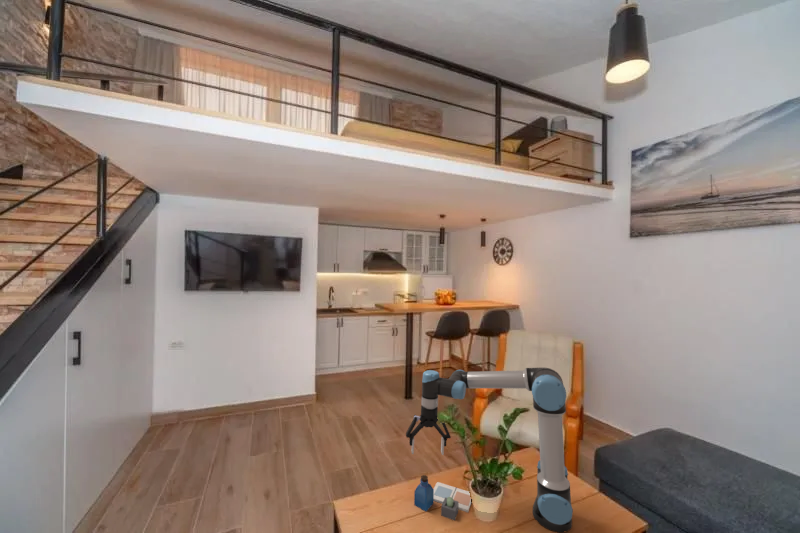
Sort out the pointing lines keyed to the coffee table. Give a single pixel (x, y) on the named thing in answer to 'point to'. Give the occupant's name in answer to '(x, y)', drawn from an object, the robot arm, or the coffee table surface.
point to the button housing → (449, 509)
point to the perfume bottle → (424, 494)
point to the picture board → (452, 495)
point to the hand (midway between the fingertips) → (427, 452)
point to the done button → (450, 502)
